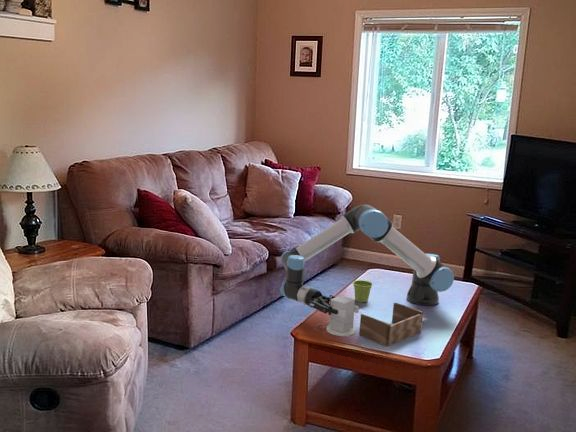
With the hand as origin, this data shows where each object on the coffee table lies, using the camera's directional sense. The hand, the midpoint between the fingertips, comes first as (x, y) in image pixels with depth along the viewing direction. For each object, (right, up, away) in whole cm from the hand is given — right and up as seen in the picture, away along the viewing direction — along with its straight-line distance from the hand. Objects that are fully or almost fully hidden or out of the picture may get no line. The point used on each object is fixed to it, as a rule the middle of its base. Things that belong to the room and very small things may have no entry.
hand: (351, 312), depth 246 cm
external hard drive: (+28, -7, +23) cm, 38 cm away
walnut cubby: (+16, -10, +5) cm, 20 cm away
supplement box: (-4, -8, +5) cm, 10 cm away
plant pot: (+9, -2, +44) cm, 45 cm away
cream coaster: (-4, -8, +5) cm, 11 cm away
